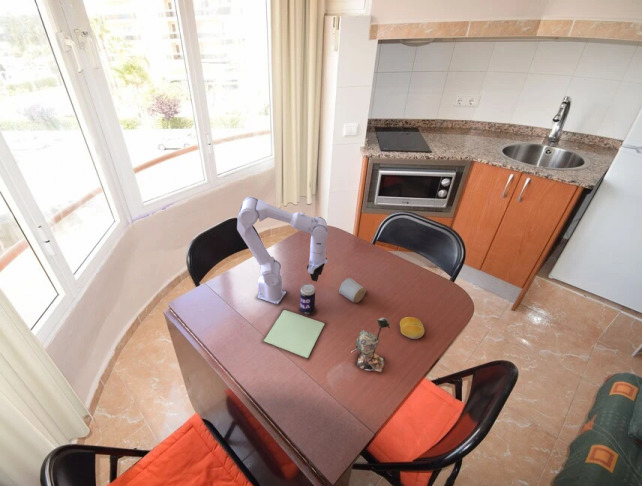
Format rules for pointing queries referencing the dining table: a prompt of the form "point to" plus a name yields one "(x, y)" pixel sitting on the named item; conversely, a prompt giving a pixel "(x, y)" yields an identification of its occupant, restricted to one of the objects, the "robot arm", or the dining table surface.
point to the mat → (294, 333)
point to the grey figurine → (370, 348)
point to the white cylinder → (352, 290)
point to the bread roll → (411, 327)
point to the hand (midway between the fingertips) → (316, 277)
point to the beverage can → (307, 299)
